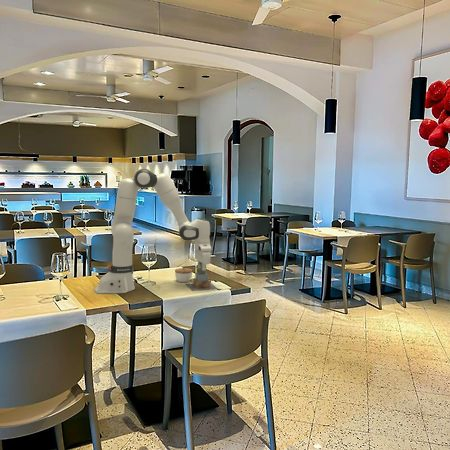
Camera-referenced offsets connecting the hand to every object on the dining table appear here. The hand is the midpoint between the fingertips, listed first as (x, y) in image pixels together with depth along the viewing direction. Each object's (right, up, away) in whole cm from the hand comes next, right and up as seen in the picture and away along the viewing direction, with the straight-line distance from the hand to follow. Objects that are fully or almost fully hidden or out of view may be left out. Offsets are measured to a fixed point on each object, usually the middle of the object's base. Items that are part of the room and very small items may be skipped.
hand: (201, 269), depth 255 cm
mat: (0, -11, +1) cm, 11 cm away
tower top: (0, -7, +1) cm, 7 cm away
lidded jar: (-12, -10, +14) cm, 21 cm away
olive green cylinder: (0, -2, 0) cm, 2 cm away
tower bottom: (0, -11, +1) cm, 11 cm away
